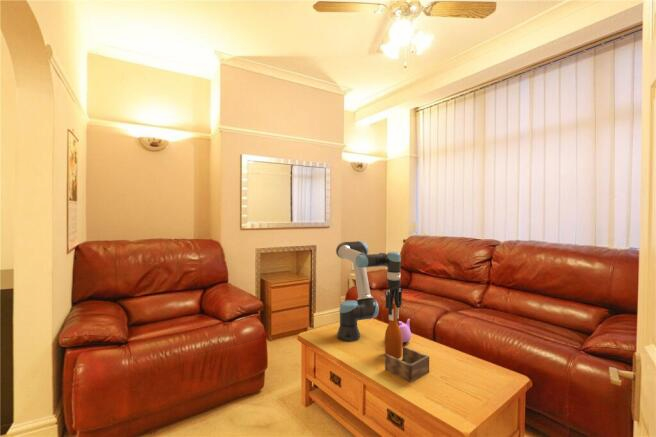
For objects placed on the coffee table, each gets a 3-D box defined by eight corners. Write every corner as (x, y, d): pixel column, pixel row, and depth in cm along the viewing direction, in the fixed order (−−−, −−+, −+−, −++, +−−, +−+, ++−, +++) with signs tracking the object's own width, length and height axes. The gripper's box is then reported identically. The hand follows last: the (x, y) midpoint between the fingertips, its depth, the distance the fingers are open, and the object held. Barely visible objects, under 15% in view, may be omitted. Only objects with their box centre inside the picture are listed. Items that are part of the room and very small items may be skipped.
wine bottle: (402, 359, 176) (402, 307, 175) (384, 358, 178) (384, 306, 177) (401, 351, 185) (401, 301, 184) (385, 350, 187) (384, 301, 186)
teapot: (401, 333, 214) (401, 315, 214) (419, 340, 203) (419, 320, 203) (382, 341, 201) (382, 322, 201) (400, 348, 190) (400, 328, 190)
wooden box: (385, 369, 165) (385, 354, 164) (403, 360, 175) (403, 346, 175) (410, 382, 152) (410, 366, 152) (429, 372, 162) (429, 356, 162)
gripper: (389, 282, 172) (389, 324, 173) (408, 278, 183) (408, 317, 184) (379, 279, 178) (378, 320, 179) (397, 276, 189) (397, 314, 189)
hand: (393, 319), depth 181 cm, fingers closed on wine bottle, 4 cm apart
